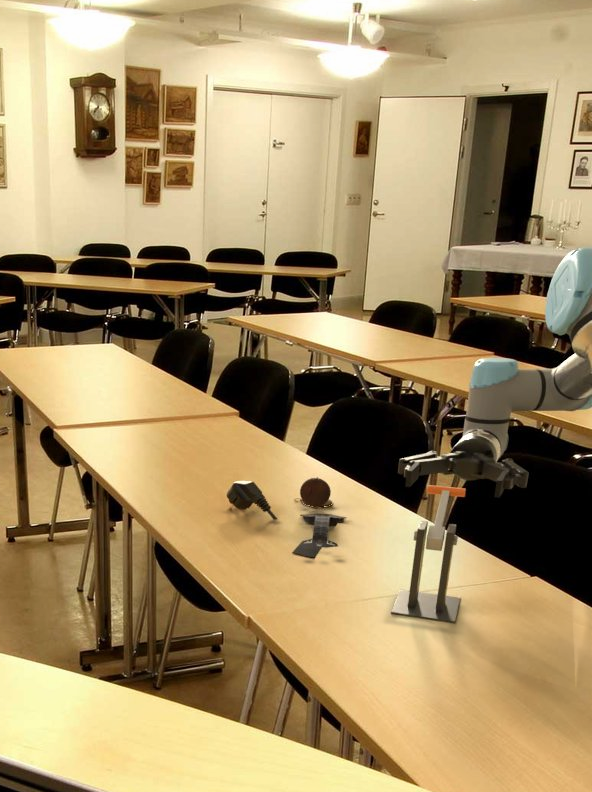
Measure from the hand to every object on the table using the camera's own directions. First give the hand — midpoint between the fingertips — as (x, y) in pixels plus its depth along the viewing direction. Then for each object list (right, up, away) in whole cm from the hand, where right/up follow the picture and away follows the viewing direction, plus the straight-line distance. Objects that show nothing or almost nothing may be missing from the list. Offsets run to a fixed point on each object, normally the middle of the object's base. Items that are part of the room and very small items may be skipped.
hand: (452, 483), depth 146 cm
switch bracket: (-7, -21, -6) cm, 22 cm away
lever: (-5, -7, -7) cm, 11 cm away
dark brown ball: (-10, 0, +46) cm, 47 cm away
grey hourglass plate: (-14, -7, +27) cm, 31 cm away
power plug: (-23, -1, +42) cm, 48 cm away
